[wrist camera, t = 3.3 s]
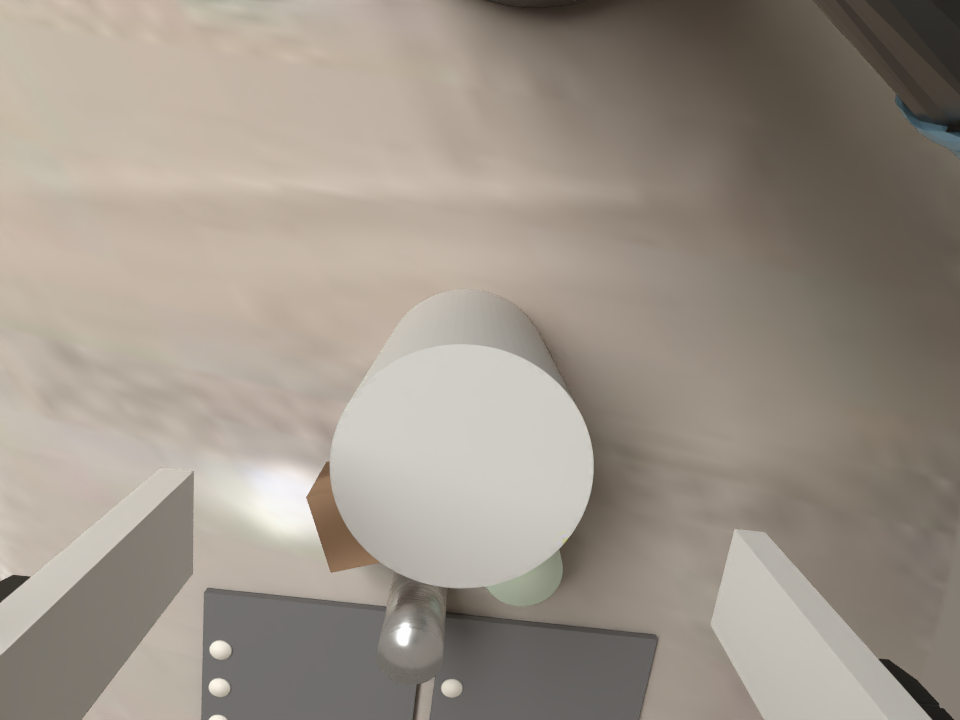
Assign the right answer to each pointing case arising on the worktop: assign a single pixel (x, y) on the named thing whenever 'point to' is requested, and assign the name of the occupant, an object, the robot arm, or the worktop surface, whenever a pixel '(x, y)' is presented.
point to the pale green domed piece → (531, 584)
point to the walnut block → (334, 528)
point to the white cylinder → (462, 447)
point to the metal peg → (412, 631)
